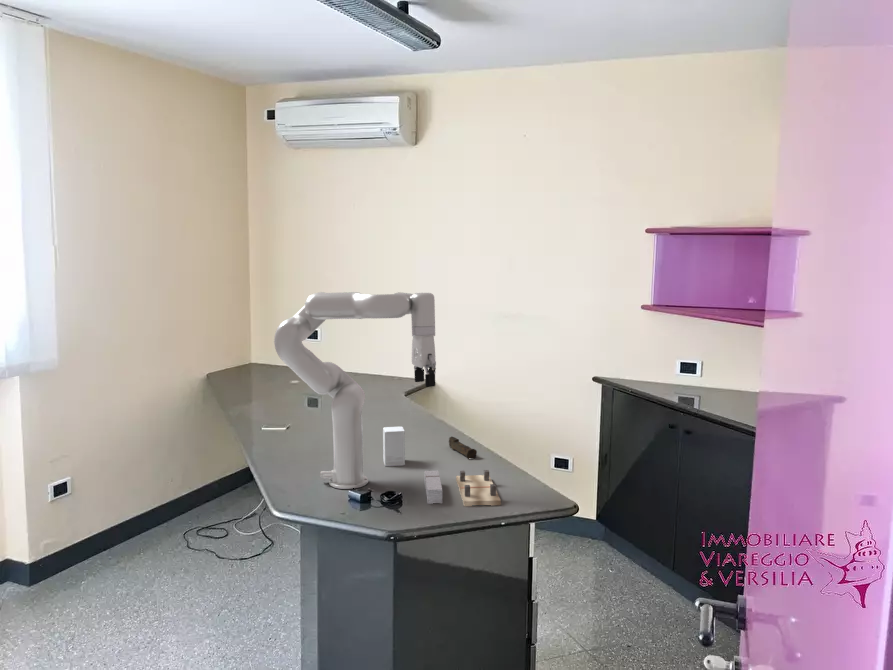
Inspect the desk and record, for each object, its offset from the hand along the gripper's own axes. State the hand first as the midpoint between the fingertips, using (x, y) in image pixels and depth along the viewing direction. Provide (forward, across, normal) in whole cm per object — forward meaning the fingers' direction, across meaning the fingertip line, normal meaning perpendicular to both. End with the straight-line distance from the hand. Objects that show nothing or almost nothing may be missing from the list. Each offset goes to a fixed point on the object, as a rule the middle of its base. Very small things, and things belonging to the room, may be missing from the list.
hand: (424, 384), depth 218 cm
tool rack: (+33, +14, +12) cm, 38 cm away
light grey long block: (+33, +10, -2) cm, 35 cm away
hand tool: (+34, -28, +24) cm, 50 cm away
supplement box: (+33, -25, -3) cm, 42 cm away
